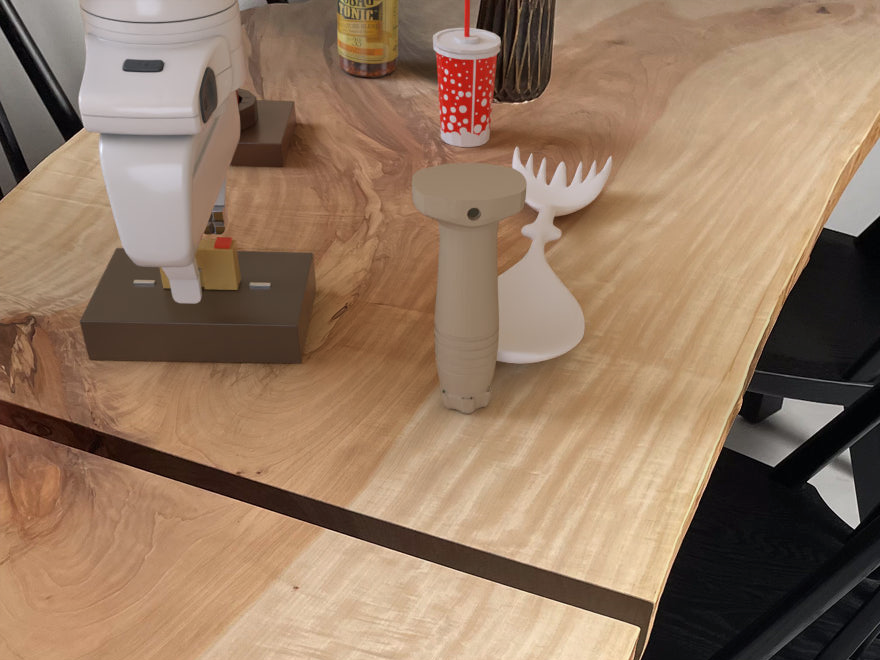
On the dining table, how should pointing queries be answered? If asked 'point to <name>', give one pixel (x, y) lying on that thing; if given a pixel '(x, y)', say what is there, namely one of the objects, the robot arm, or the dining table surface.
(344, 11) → the brown tonic bottle
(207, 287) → the lock knob
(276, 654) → the dining table surface
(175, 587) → the dining table surface
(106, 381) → the dining table surface
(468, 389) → the handle
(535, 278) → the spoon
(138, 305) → the plate
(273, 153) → the block
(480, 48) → the beverage cup
